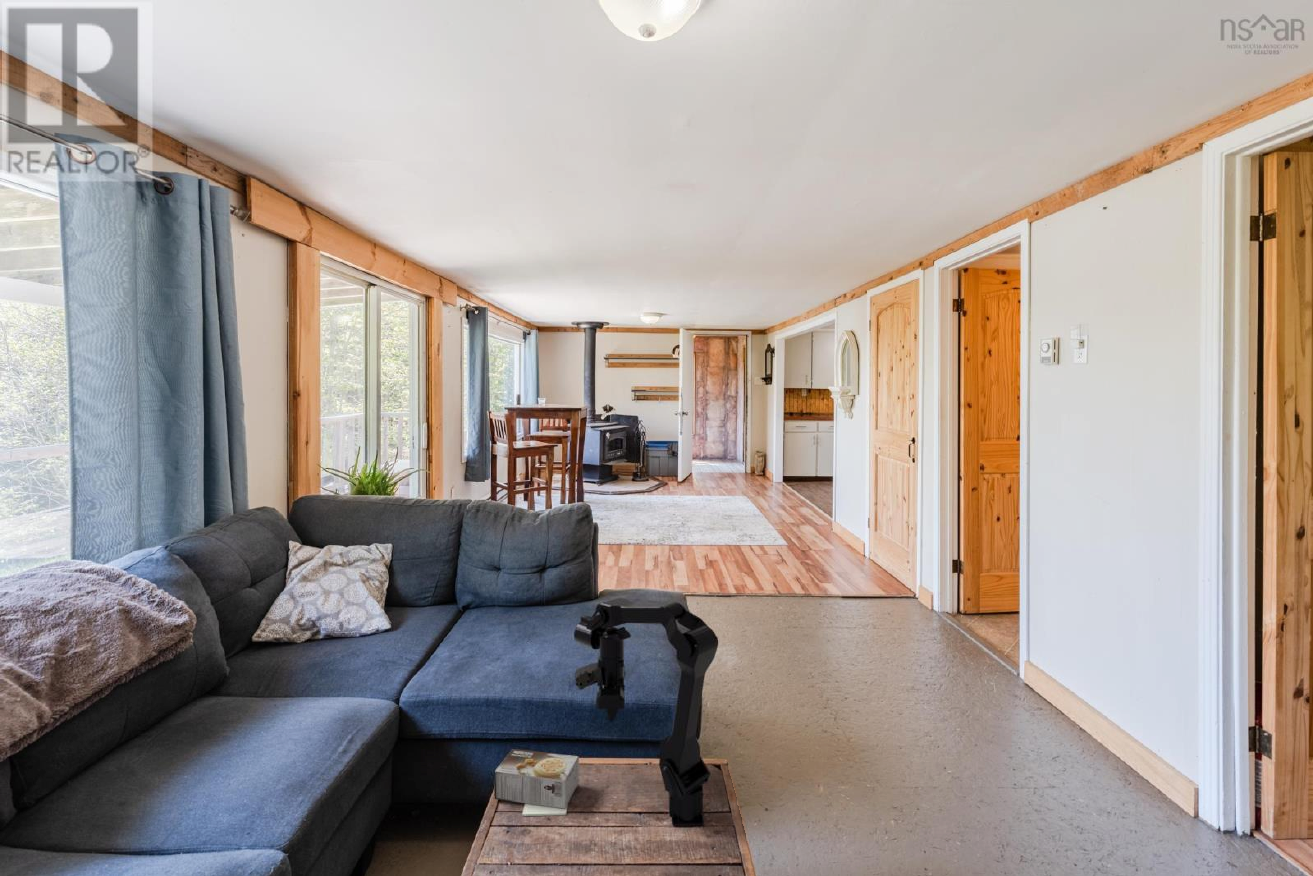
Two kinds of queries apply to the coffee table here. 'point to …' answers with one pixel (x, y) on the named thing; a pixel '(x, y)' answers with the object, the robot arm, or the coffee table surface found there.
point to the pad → (542, 810)
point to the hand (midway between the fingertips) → (611, 721)
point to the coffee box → (537, 778)
